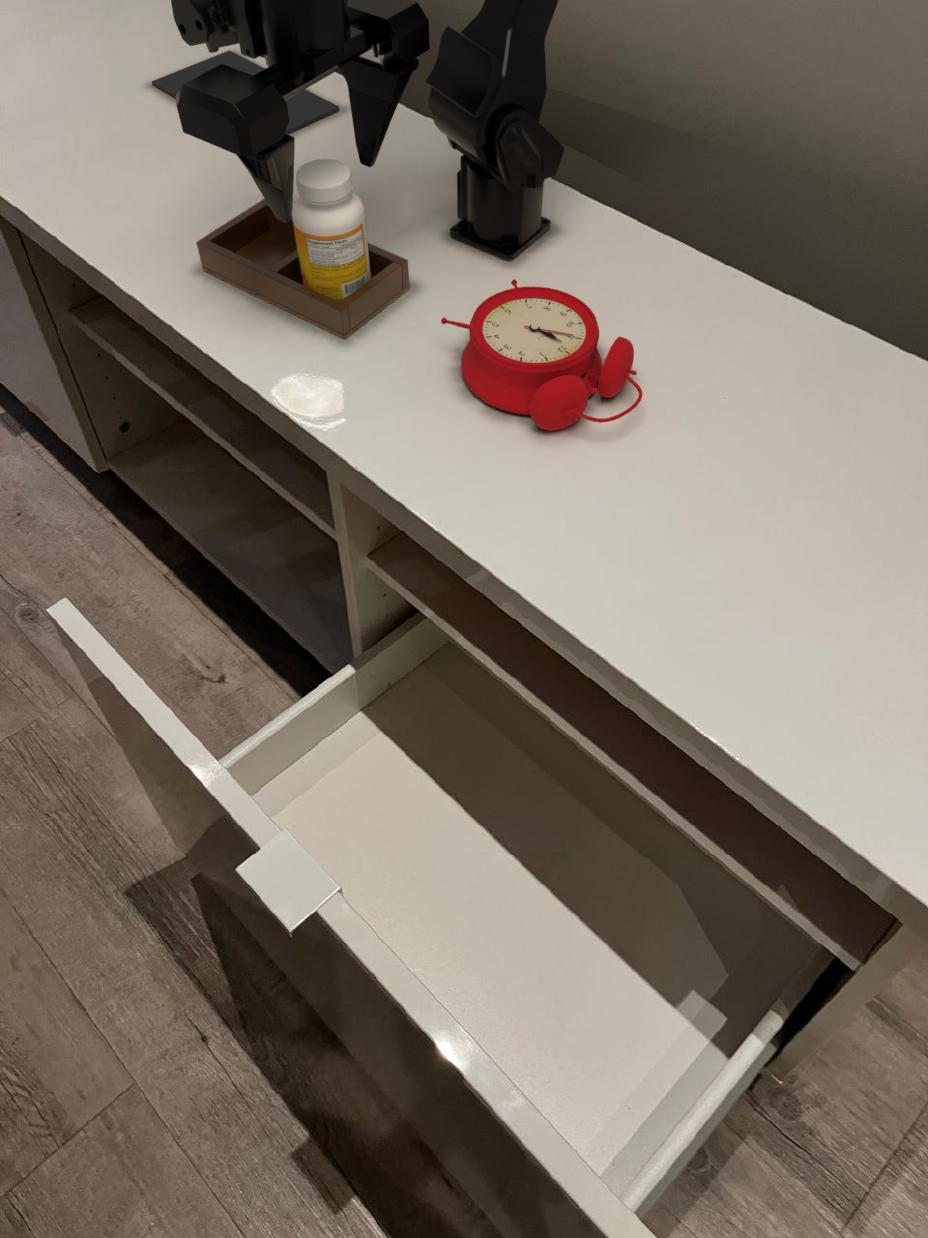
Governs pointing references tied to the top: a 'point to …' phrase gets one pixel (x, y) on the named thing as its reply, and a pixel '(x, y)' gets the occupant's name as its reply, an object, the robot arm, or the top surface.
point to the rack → (295, 272)
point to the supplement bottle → (330, 230)
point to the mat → (300, 106)
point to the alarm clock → (542, 356)
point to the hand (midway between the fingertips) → (326, 191)
